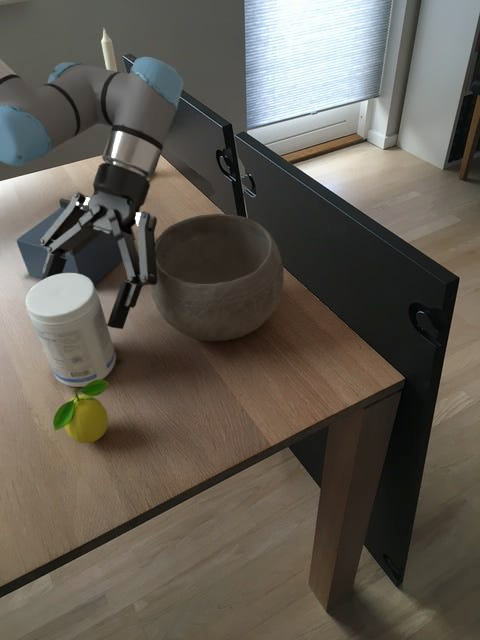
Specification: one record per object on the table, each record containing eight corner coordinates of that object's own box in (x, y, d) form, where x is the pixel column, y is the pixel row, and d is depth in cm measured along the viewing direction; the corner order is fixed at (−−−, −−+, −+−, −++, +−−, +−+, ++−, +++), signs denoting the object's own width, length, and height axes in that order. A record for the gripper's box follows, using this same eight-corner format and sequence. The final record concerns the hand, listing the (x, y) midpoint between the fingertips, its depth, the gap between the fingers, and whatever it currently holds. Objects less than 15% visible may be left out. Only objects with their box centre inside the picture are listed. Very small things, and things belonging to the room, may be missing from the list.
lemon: (118, 415, 75) (103, 366, 69) (116, 450, 71) (100, 401, 64) (70, 421, 75) (50, 372, 68) (65, 456, 71) (43, 408, 64)
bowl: (178, 380, 80) (164, 303, 70) (144, 298, 94) (128, 225, 84) (304, 340, 85) (308, 263, 75) (253, 269, 100) (251, 196, 90)
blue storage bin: (29, 275, 101) (13, 232, 94) (73, 240, 109) (61, 198, 103) (84, 293, 96) (71, 248, 90) (126, 254, 105) (117, 211, 98)
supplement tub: (87, 336, 88) (64, 263, 78) (130, 359, 83) (111, 284, 74) (40, 373, 82) (9, 299, 72) (83, 400, 78) (55, 325, 68)
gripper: (211, 199, 75) (161, 342, 76) (79, 164, 85) (36, 291, 86) (185, 180, 68) (131, 338, 69) (44, 145, 78) (-2, 283, 79)
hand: (78, 312), depth 77 cm, fingers open, 13 cm apart
